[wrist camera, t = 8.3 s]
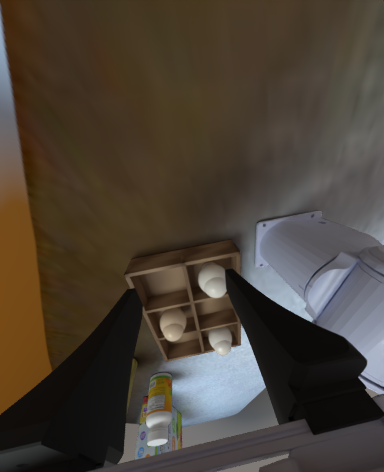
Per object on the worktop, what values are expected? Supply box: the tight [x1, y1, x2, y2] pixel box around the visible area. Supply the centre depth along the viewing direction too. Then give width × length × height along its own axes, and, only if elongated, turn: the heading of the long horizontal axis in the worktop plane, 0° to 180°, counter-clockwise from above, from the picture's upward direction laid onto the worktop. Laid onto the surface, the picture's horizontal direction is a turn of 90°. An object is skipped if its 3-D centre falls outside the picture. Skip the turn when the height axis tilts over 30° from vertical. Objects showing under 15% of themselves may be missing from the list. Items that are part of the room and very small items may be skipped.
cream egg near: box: [198, 261, 227, 298], centre depth 20 cm, size 4×4×5 cm
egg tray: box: [124, 240, 241, 362], centre depth 24 cm, size 15×22×3 cm
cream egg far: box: [209, 326, 232, 356], centre depth 26 cm, size 4×4×5 cm
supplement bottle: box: [146, 372, 172, 446], centre depth 32 cm, size 5×5×10 cm
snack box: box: [134, 396, 182, 460], centre depth 38 cm, size 21×6×15 cm, turn 15°
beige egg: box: [160, 307, 187, 342], centre depth 23 cm, size 4×4×5 cm
